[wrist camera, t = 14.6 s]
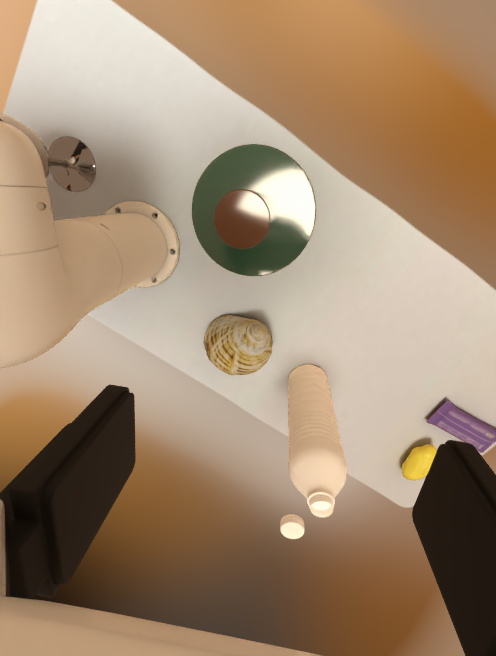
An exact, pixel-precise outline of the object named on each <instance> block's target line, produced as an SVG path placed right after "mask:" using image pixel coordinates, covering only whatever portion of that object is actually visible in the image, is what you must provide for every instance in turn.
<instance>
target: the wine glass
mask: <svg viewBox="0 0 496 656" xmlns="http://www.w3.org/2000/svg"><path fill="white" fill-rule="evenodd" d="M0 121H2V122H5V123H8V124H10V125H12V126H14V127H16V128H17V129H19V130H20V131H22V132H23V133H24V134H25V135H26V136H28V138H29V139H30V140H31V141H32V142H33V144H34V146H35V147H36V149H37V151H38V153H39V156H40V159H41V162H42V165H43V169H44V173H45V178H47V176H48V173H49V169H50V172H51V174H52V176H53V178H54V179H55V180H56V182H57V183H58V184H59V185H60V186H62V187H63V188H65V189H67V190H69V191H73V192H80V191H84V190H86V189H87V188H88V187H90V185H91V184H92V183H93V181H94V178H95V173H96V165H95V161H94V158H93V155H92V153H91V151H90V150H89V149H88V147H87V146H86V145H85V144H84V143H83V142H81V141H80V140H78V139H76V138H73V137H68V136H67V137H61V138H59V139H57V140H56V141H55V142H54V143H53V144H52V145H51V147H50V149H49V153H48V152H47V149H46V147H45V145H44V143H43V142H42V140H41V139H40V137H39V136H38V135H37V134H36V133H35V132H33V131H32V130H31V129H30V128H28V127H27V126H26V125H24V124H22V123H21V122H19V121H17V120H15V119H13V118H11V117H9V116H7V115H5V114H2V113H0Z"/></svg>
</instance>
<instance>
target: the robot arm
mask: <svg viewBox="0 0 496 656" xmlns="http://www.w3.org/2000/svg"><path fill="white" fill-rule="evenodd" d="M119 209H120V210H121V212H120V211H119ZM156 213H157V214H158V217H156ZM173 249H174V250H175V252H173ZM179 250H180V249H179V240H178V237H177V233H176V231H175V229H174V227H173V225H172V223H171V222H170V221H169V219H168V218H167V217H166V216H165V215H164V214H163V213H162V212H161V211H160V210H158V209H157V208H155V207H153V206H151V205H149V204H147V203H143V202H137V201H129V202H123V203H119V204H117V205H115V206H113V207H111V208H110V209H109V210H108V211H107V212H106V213H105V214H104V215H103V216H92V217H81V218H71V219H61V220H55V221H54V219H53V214H52V209H51V203H50V198H49V192H48V188H47V183H46V178H45V173H44V169H43V165H42V162H41V159H40V156H39V153H38V151H37V149H36V147H35V146H34V144H33V142H32V141H31V140H30V139H29V138H28V136H26V135H25V134H24V133H23V132H22V131H20V130H19V129H17V128H16V127H14V126H12V125H10V124H8V123H5V122H2V121H0V368H5V367H10V366H14V365H18V364H20V363H24V362H27V361H29V360H31V359H34V358H36V357H38V356H39V355H41V354H43V353H45V352H46V351H48V350H49V349H51V348H52V347H53V346H55V345H56V344H57V343H59V342H60V341H61V340H62V339H63V338H64V337H65V336H66V335H67V334H68V333H69V332H70V331H71V330H72V329H73V327H74V326H75V325H76V324H77V323H78V322H79V321H80V319H81V318H83V317H84V316H85V315H86V314H87V313H89V312H90V311H92V310H93V309H95V308H97V307H98V306H100V305H102V304H103V303H105V302H107V301H109V300H111V299H112V298H114V297H116V296H118V295H119V294H121V293H123V292H125V291H126V290H128V289H130V288H132V287H133V286H135V287H151V286H154V285H157V284H159V283H161V282H163V281H164V280H165V279H167V278H168V277H169V276H170V275H171V273H172V272H173V271H174V269H175V267H176V265H177V262H178V259H179ZM155 278H156V279H157V280H155ZM134 464H135V411H134V394H133V393H129V389H128V388H127V387H122V386H116V385H108V386H107V387H106V388H105V389H104V390H103V391H102V392H101V393H100V394H99V395H98V396H97V397H96V398H95V399H94V400H93V401H92V402H91V403H90V404H89V405H88V406H87V407H86V409H84V411H83V412H82V413H81V414H80V415H79V416H78V417H77V418H76V419H75V420H74V421H73V422H72V423H70V424H68V425H67V426H65V427H64V428H63V429H62V430H61V431H60V432H59V433H58V434H57V435H56V436H55V437H54V438H53V439H52V440H51V441H50V443H48V445H46V447H45V448H44V449H43V450H42V451H41V452H40V453H39V454H38V455H37V456H36V457H35V458H34V459H33V460H32V461H31V462H30V463H29V464H28V465H27V466H26V467H25V468H24V469H23V470H22V471H21V472H20V473H19V474H18V475H17V476H16V477H15V478H14V479H13V480H12V481H11V483H9V484H8V485H7V486H6V488H5V489H4V490H3V491H2V492H1V493H0V656H321V655H317V654H312V653H307V652H302V651H297V650H293V649H288V648H283V647H278V646H273V645H268V644H263V643H258V642H253V641H249V640H244V639H239V638H234V637H229V636H224V635H220V634H215V633H209V632H205V631H200V630H195V629H189V628H185V627H180V626H174V625H170V624H165V623H160V622H155V621H149V620H144V619H140V618H135V617H129V616H124V615H120V614H115V613H109V612H104V611H98V610H93V609H87V608H81V607H76V606H70V605H65V604H59V603H53V602H48V601H40V600H33V599H34V598H35V596H36V595H38V596H43V597H48V598H53V597H54V595H55V594H56V592H57V590H58V589H59V587H60V585H61V584H67V583H68V582H69V581H70V579H71V578H72V576H73V574H74V573H75V571H76V569H77V567H78V566H79V564H80V562H81V560H82V559H83V557H84V555H85V553H86V551H87V550H88V548H89V546H90V544H91V543H92V540H93V539H94V537H95V536H96V534H97V532H98V530H99V529H100V527H101V525H102V523H103V522H104V520H105V518H106V516H107V515H108V513H109V511H110V509H111V508H112V505H113V504H114V502H115V500H116V499H117V497H118V495H119V494H120V492H121V490H122V488H123V486H124V485H125V483H126V481H127V480H128V478H129V476H130V474H131V472H132V470H133V468H134ZM412 515H413V516H412V517H413V522H414V524H415V527H416V530H417V532H418V535H419V537H420V540H421V542H422V545H423V547H424V550H425V553H426V555H427V558H428V560H429V563H430V565H431V568H432V571H433V573H434V576H435V578H436V581H437V584H438V586H439V589H440V591H441V594H442V597H443V599H444V602H445V604H446V607H447V609H448V612H449V615H450V617H451V620H452V622H453V625H454V627H455V630H456V632H457V635H458V638H459V640H460V643H461V645H462V648H463V651H464V653H465V656H496V475H495V473H494V472H493V471H492V469H491V468H490V467H489V465H488V464H487V463H486V461H485V460H484V459H483V457H482V456H481V455H480V453H479V452H478V451H477V449H476V448H475V447H474V446H473V445H472V444H470V443H465V442H459V441H453V440H448V441H447V442H446V443H445V444H441V445H440V446H439V448H438V450H437V452H436V455H435V457H434V460H433V462H432V464H431V467H430V469H429V471H428V474H427V476H426V479H425V481H424V483H423V486H422V488H421V491H420V493H419V495H418V498H417V500H416V502H415V505H414V507H413V512H412Z"/></svg>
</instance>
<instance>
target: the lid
mask: <svg viewBox="0 0 496 656" xmlns="http://www.w3.org/2000/svg"><path fill="white" fill-rule="evenodd" d="M315 216H316V204H315V196H314V193H313V189H312V186H311V184H310V181H309V179H308V177H307V176H306V174H305V172H304V171H303V169H302V168H301V167H300V166H299V164H298V163H297V162H296V161H295V160H293V159H292V158H291V157H290V156H288V155H287V154H286V153H284V152H282V151H280V150H278V149H275V148H273V147H270V146H265V145H257V144H250V145H242V146H239V147H235V148H233V149H230V150H228V151H226V152H224V153H223V154H221V155H219V156H218V157H217V158H216V159H214V160H213V161H212V162H211V163H210V164H209V166H208V167H207V168H206V169H205V171H204V172H203V173H202V175H201V177H200V179H199V181H198V183H197V186H196V188H195V192H194V196H193V202H192V219H193V225H194V229H195V232H196V235H197V237H198V240H199V242H200V244H201V245H202V247H203V248H204V250H205V251H206V253H207V254H208V255H209V256H210V257H211V258H212V259H213V260H214V261H215V262H216V263H217V264H219V265H220V266H222V267H223V268H225V269H227V270H229V271H231V272H234V273H237V274H241V275H246V276H262V275H267V274H271V273H274V272H276V271H278V270H281V269H283V268H284V267H286V266H287V265H289V264H290V263H291V262H293V261H294V260H295V259H296V258H297V257H298V256H299V255H300V254H301V252H302V251H303V249H304V248H305V247H306V245H307V243H308V241H309V239H310V237H311V234H312V231H313V228H314V224H315Z"/></svg>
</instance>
